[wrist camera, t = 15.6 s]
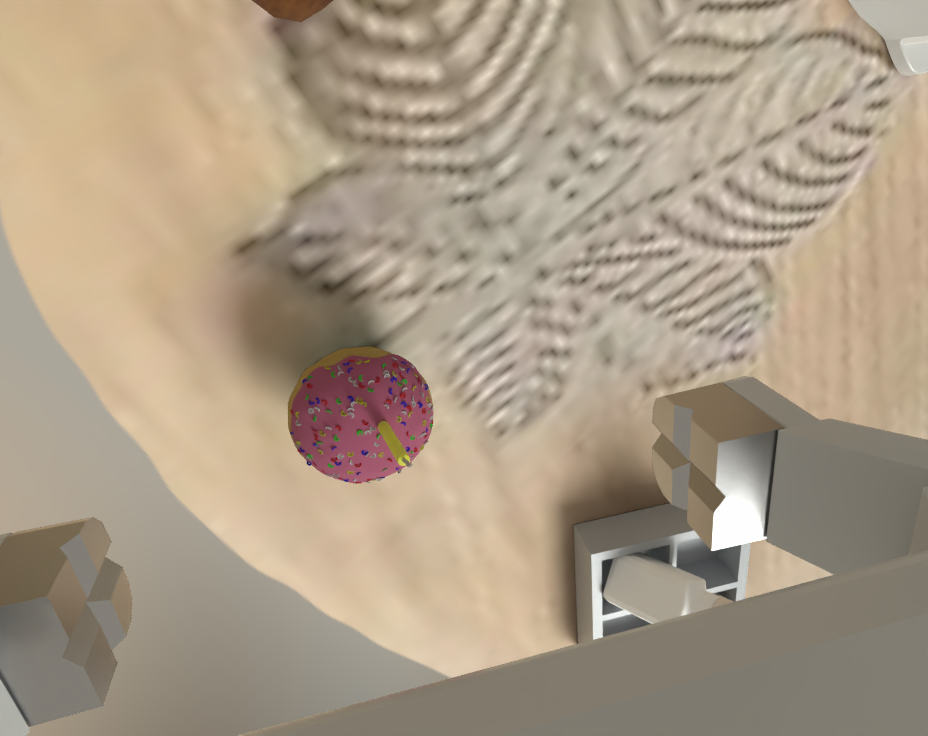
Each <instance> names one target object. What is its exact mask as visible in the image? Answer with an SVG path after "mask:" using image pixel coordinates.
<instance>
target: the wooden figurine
mask: <svg viewBox="0 0 928 736" xmlns="http://www.w3.org/2000/svg"><path fill="white" fill-rule="evenodd" d="M252 1H254V2H255V3H256V4H258V5H259V6H260V7H262V8H263V9H264V10H266V11H267V12H268V13H269V14H271V15H272V16H273V17H275V18H281V19H287V20H292V21H298V22H302V21H304V20H305V19H307V18H309V17H310V16H312V15H314V14H315V13H317V12H319V11H321V10H322V9H323V8H325V7H326V6H327V5H328V4H329V3H330V2H331V1H333V0H252Z"/></svg>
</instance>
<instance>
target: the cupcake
mask: <svg viewBox="0 0 928 736" xmlns="http://www.w3.org/2000/svg"><path fill="white" fill-rule="evenodd" d="M432 426H433V403H432V398H431V394H430V390H429V387H428V385H427V383H426V381H425V380H424V378H423V377H422V376H421V375H420V374H419V372H418V371H417V369H416V368H415V367H414V366H413V365H412V364H411V363H410V362H409V361H407V360H406V359H404V358H402V357H400V356H398V355H394V354H391V353H389V352H387V351H384V350H381V349H378V348H375V347H368V346H367V347H353V348H343V349H339V350H337V351H335V352H333V353H331V354H329V355H328V356H326V357H324V358H323V359H321V360H320V361H319V362H317V363H316V364H314V365H312V366H310V367H309V368H307V369H306V370H305V371H304V372H303V374H302V375H301V377H300V379H299V381H298V383H297V385H296V387H295V389H294V390H293V392H292V394H291V396H290V399H289V402H288V427H289V432H290V435H291V437H292V440H293V442H294V444H295V446H296V448H297V450H298V452H299V453H300V454H301V455H302V456H303V457H304V458H305V459H306V460H307V464H308V465H309V466H310V465H312V466H313V467H315V468H316V469H317V470H318V471H320V472H321V473H323V474H325V475H327V476H330V477H332V478H335V479H339V480H343V481H345V482H350V483H362V482H368V481H371V480H377V481H379V480H381V479H382V478H385V477H386V476H388V475H391V474H393V473H395V472H397V471H398V473H401V469H402V468H403V467H405V466H407V467H412V464H410V463H411V461H412V460H413V459H414V458H415V457H416V456H417V455H418V453H419V452H420V451H421V450H422V449H423V448H424V445H425V444H426V443H427V442H429V441H427V440H428V438H429V436H430V433H431V430H432ZM308 462H309V463H310V464H309V463H308ZM399 471H400V472H399ZM368 483H371V482H368Z"/></svg>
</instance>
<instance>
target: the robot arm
mask: <svg viewBox="0 0 928 736" xmlns="http://www.w3.org/2000/svg"><path fill="white" fill-rule="evenodd" d="M848 1H849V2H850V4H851V5H852V7H853V8H854V10H855V11H856V12H857V13H858V15H859V16H860V17H861V18H862V19H863V20H864V21H866V22H867V23H868V24H869V25H870V26H871V27H873V28H874V29H875V30H876V31H877V32H878V33H879V34H880V35H881V36H882V37H883V39H884V40H885V42H886V45H887V48H888V51H889V54H890V56H891V59H892V61H893V63H894V65H895V67H896V69H897V70H898V71H899V73H901V74H902V75H904V76H912V75H919V74H924V73H927V72H928V0H848ZM652 423H653V424H654V425H655V427H656V428H657V429H658V430H659V431H660V432H661V435H660V436H659V438H658V439H657V441H656V442H655V444H654V445H653V447H652V466H653V470H654V474H655V477H656V481H657V484H658V486H659V488H660V489H661V491H662V493H663V495H664V496H665V497H666V499H667V500H668V501H669V502H670V503H671V505H674V506H676V507H679V508H681V509H684V510H687V523H688V524H689V525H690V527H691V528H692V529H693V530H694V531H695V532H696V533H697V535H698V536H699V537H700V538H701V539H702V540H703V541H704V543H705V544H706V545H707V546H708V547H709V548H710V549H711V550H712V551H713V550H718V549H722V548H727V547H731V546H736V545H740V544H745V543H749V542H753V541H758V540H762V539H766V541H767V542H769V543H771V544H773V545H775V546H777V547H779V548H781V549H783V550H785V551H787V552H789V553H791V554H793V555H795V556H797V557H799V558H801V559H803V560H805V561H807V562H809V563H811V564H813V565H816V566H818V567H820V568H822V569H824V570H826V571H828V572H830V573H832V574H834V575H832V576H828V577H825V578H821V579H817V580H813V581H810V582H806V583H802V584H799V585H795V586H791V587H787V588H784V589H780V590H776V591H773V592H769V593H765V594H761V595H758V596H754V597H750V598H747V599H743V600H739V601H735V602H732V603H728V604H724V605H721V606H717V607H713V608H709V609H706V610H702V611H698V612H695V613H691V614H687V615H683V616H680V617H676V618H672V619H669V620H665V621H661V622H657V623H654V624H650V625H646V626H643V627H639V628H635V629H631V630H628V631H624V632H620V633H617V634H613V635H609V636H605V637H602V638H598V639H594V640H591V641H587V642H583V643H579V644H576V645H572V646H568V647H565V648H561V649H557V650H553V651H550V652H546V653H542V654H539V655H535V656H531V657H528V658H524V659H520V660H517V661H513V662H509V663H506V664H502V665H498V666H494V667H491V668H487V669H483V670H480V671H476V672H472V673H468V674H465V675H461V676H457V677H454V678H450V679H446V680H443V681H439V682H435V683H431V684H428V685H424V686H420V687H417V688H413V689H409V690H405V691H402V692H398V693H394V694H390V695H387V696H383V697H379V698H376V699H372V700H368V701H364V702H361V703H357V704H353V705H350V706H346V707H342V708H339V709H335V710H331V711H328V712H323V713H320V714H316V715H312V716H309V717H305V718H302V719H298V720H294V721H290V722H287V723H283V724H279V725H275V726H271V727H268V728H264V729H260V730H257V731H253V732H249V733H246V734H242V735H238V736H928V440H926V439H921V438H916V437H912V436H907V435H903V434H898V433H894V432H889V431H884V430H880V429H875V428H871V427H866V426H862V425H857V424H852V423H848V422H843V421H839V420H834V419H825V420H821V421H820V420H819V419H817V418H815V417H814V416H812V415H811V414H809V413H808V412H806V411H805V410H803V409H802V408H800V407H799V406H797V405H795V404H794V403H792V402H791V401H789V400H788V399H786V398H785V397H783V396H782V395H780V394H779V393H777V392H775V391H774V390H772V389H771V388H769V387H768V386H766V385H765V384H763V383H762V382H760V381H759V380H757V379H755V378H754V377H747V376H744V377H740V378H736V379H732V380H728V381H724V382H721V383H717V384H712V385H708V386H704V387H700V388H696V389H692V390H687V391H683V392H679V393H675V394H671V395H667V396H663V397H659V398H656V400H655V403H654V406H653V416H652ZM110 544H111V539H110V538H109V535H108V533H107V531H106V529H105V527H104V525H103V523H102V522H101V521H99V520H98V519H96V518H94V517H91V518H86V519H81V520H76V521H70V522H65V523H61V524H55V525H50V526H45V527H40V528H34V529H29V530H24V531H20V532H16V533H7V534H3V535H0V736H26V735H27V733H28V732H29V731H30V729H29V727H30V726H34V725H37V724H41V723H44V722H48V721H52V720H55V719H58V718H62V717H66V716H69V715H73V714H76V713H80V712H84V711H87V710H91V709H94V708H98V707H101V706H103V704H104V702H105V698H106V696H107V692H108V690H109V687H110V684H111V680H112V678H113V674H114V672H115V669H116V666H117V661H116V659H115V656H114V654H113V652H112V650H113V648H115V646H117V645H118V644H119V643H120V642H121V641H122V640H123V639H124V638H125V637H126V635H127V632H128V629H129V625H130V622H131V616H132V595H131V591H130V586H129V581H128V579H127V577H126V574H125V572H124V569H123V567H121V566H120V565H118V564H116V563H115V562H113V561H111V560H110V559H108V558H106V557H105V556H106V554H107V551H108V549H109V547H110Z"/></svg>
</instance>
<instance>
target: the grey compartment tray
mask: <svg viewBox="0 0 928 736" xmlns="http://www.w3.org/2000/svg"><path fill="white" fill-rule="evenodd" d="M750 544H751V542H749V543H745V544H740V545H736V546H731V547H727V548H722V549H718V550H713V551H712V550H711V549H710V548H709V547H708V546H707V545H706V544H705V543H704V541H703V540H702V539H701V538H700V537H699V536H698V535H697V533H696V532H695V531H694V530H693V529H692V528H691V527H690V525H689V524H688V523H687V510H684V509H681V508H679V507H676V506H674V505H671V503H668V504H663V505H659V506H655V507H650V508H646V509H641V510H637V511H633V512H628V513H624V514H619V515H615V516H611V517H606V518H602V519H598V520H593V521H589V522H584V523H580V524H576V525H574V551H575V579H576V606H577V634H578V644H579V643H583V642H587V641H591V640H594V639H598V638H602V637H605V636H609V635H613V634H617V633H620V632H624V631H628V630H631V629H635V628H639V627H643V626H646V625H650V624H651V623H649V622H647V621H645V620H643V619H641V618H639V617H637V616H635V615H633V614H631V613H629V612H627V611H625V610H623V609H621V608H619V607H617V606H615V605H613V604H611V603H609V602H608V601H607V600H606V599H605V598H604V597H603V592H604V588H605V585H606V582H607V578H608V575H609V571H610V568H611V565H612V561H613V558H616V557H620V556H624V555H628V554H632V553H637V552H641V553H644V554H646V555H648V556H651V557H653V558H655V559H658V560H660V561H662V562H665V563H667V564H669V565H672V566H674V567H676V568H679V569H681V570H683V571H686V572H688V573H691V574H693V575H695V576H698V577H700V578H702V579H704V580H705V581H706V591H708V592H710V593H712V594H713V593H716V592H717V593H718V594H719V595H720V596H723V597H725V598H727V599H729V600H731V601H733V602H735V601H739V600H743V599H745V590H746V581H747V572H748V563H749V554H750Z"/></svg>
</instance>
